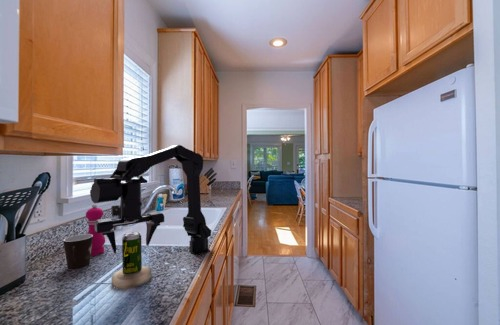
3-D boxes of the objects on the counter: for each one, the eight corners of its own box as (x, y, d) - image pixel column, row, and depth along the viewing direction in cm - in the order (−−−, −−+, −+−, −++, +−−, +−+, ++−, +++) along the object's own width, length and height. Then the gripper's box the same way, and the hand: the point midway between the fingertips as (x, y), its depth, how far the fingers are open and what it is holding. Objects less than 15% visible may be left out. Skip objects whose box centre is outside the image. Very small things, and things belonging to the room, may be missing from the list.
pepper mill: (100, 248, 102) (100, 202, 102) (108, 252, 98) (108, 203, 98) (81, 254, 96) (80, 204, 96) (88, 257, 92) (88, 206, 92)
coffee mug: (76, 260, 89) (75, 234, 89) (98, 260, 89) (98, 234, 89) (49, 275, 78) (48, 244, 78) (74, 275, 77) (74, 244, 77)
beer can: (124, 270, 75) (123, 232, 75) (142, 267, 77) (142, 230, 77) (120, 278, 70) (120, 237, 70) (140, 275, 72) (140, 235, 72)
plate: (145, 268, 81) (145, 262, 81) (156, 280, 73) (155, 273, 73) (108, 278, 74) (108, 272, 74) (115, 293, 66) (115, 285, 66)
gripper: (153, 193, 86) (154, 236, 86) (92, 199, 74) (92, 249, 74) (164, 196, 77) (165, 244, 77) (96, 203, 65) (97, 260, 65)
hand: (131, 248), depth 74 cm, fingers open, 9 cm apart
